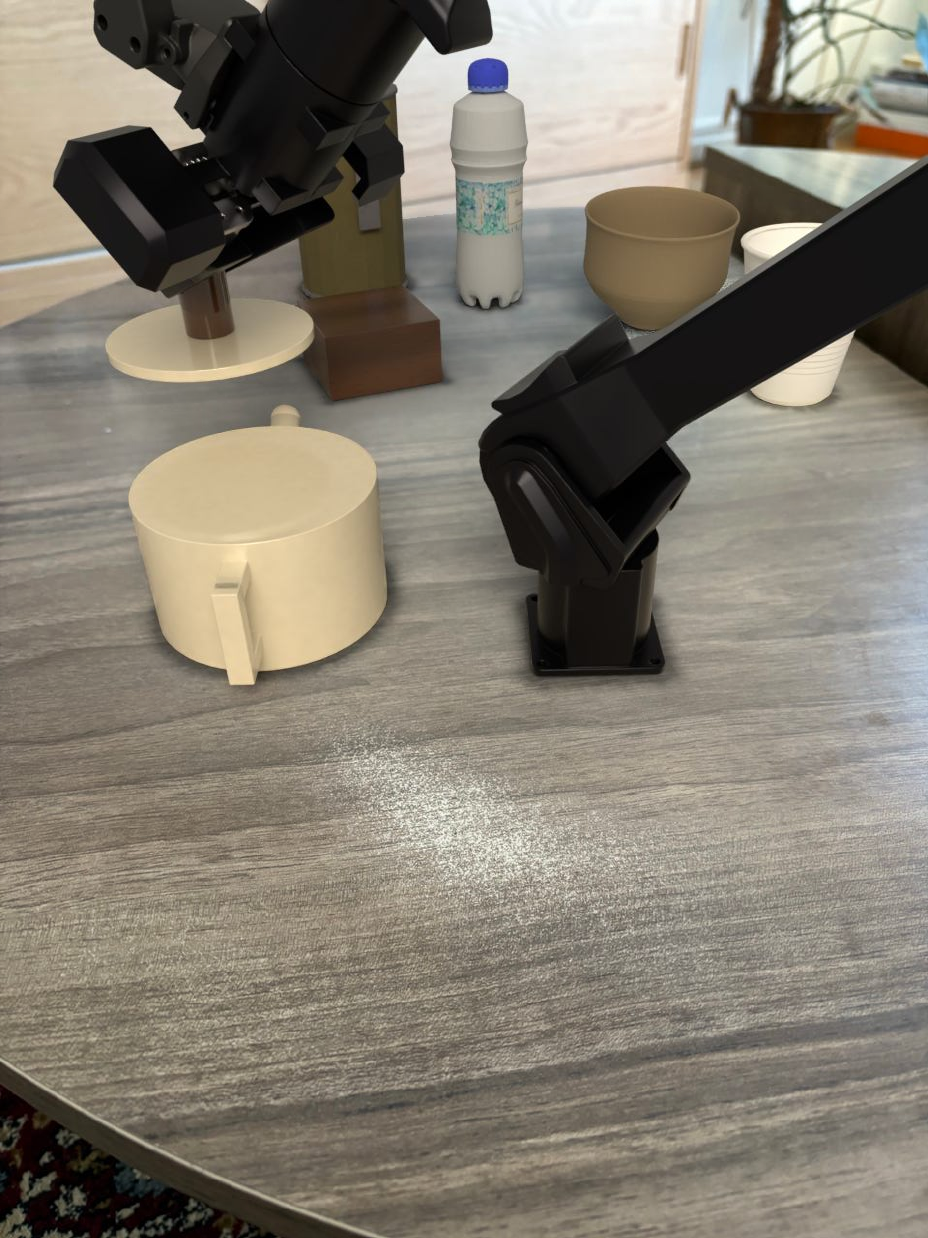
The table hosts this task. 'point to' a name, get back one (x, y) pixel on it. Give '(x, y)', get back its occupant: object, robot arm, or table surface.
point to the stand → (372, 342)
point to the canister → (357, 236)
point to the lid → (210, 336)
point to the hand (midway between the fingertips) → (182, 281)
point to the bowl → (657, 251)
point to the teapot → (262, 545)
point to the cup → (819, 369)
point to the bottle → (489, 186)
